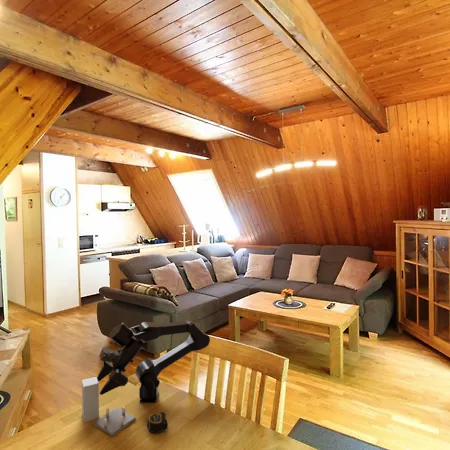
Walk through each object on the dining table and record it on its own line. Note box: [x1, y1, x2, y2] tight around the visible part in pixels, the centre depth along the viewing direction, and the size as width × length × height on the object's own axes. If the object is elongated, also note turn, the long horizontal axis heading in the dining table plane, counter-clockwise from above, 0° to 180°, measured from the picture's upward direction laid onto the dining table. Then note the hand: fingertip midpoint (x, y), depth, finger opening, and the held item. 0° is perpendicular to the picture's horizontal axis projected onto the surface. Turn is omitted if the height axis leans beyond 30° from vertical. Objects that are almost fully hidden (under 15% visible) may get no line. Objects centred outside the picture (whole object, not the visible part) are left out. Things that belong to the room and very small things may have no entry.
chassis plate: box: [93, 405, 136, 437], centre depth 114 cm, size 10×10×4 cm
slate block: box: [81, 376, 100, 423], centre depth 117 cm, size 5×5×13 cm
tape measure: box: [146, 411, 169, 434], centre depth 112 cm, size 7×7×4 cm
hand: (98, 387), depth 119 cm, fingers open, 9 cm apart
